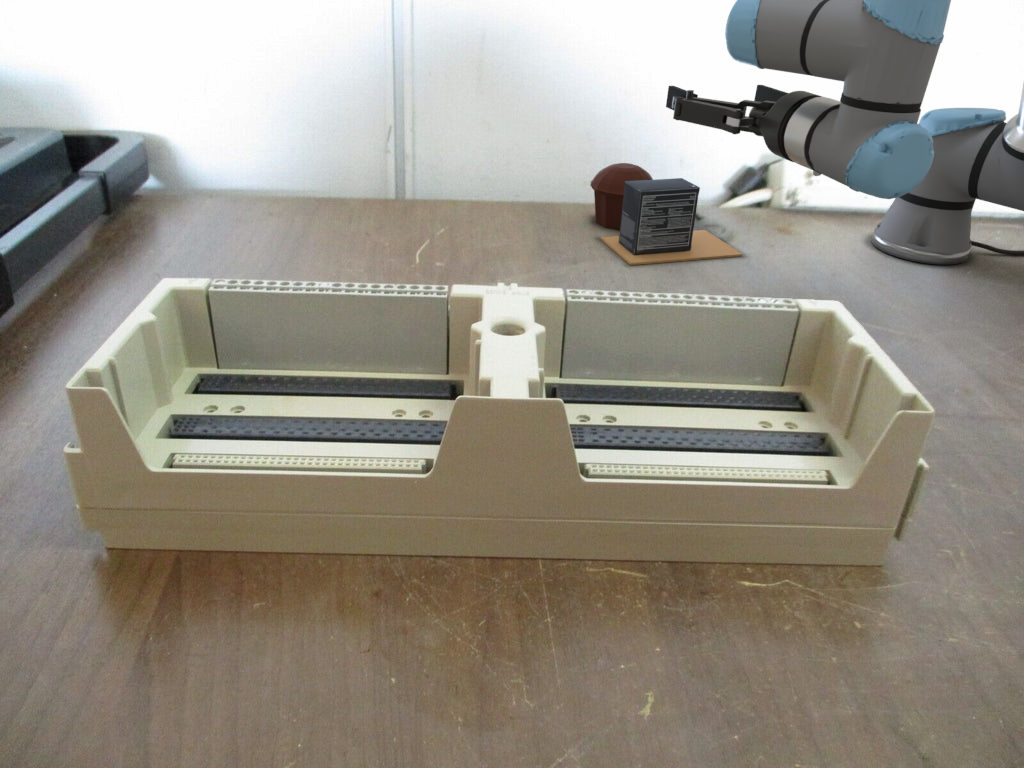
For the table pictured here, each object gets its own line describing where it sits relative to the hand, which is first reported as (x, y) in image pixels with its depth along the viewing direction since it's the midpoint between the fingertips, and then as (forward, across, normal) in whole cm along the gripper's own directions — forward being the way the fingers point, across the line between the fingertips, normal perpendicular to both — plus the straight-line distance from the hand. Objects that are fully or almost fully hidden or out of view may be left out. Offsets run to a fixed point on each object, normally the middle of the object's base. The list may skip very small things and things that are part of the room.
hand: (714, 95), depth 104 cm
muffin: (+25, 0, -26) cm, 36 cm away
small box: (+11, 0, -26) cm, 28 cm away
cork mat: (+11, +3, -26) cm, 28 cm away
